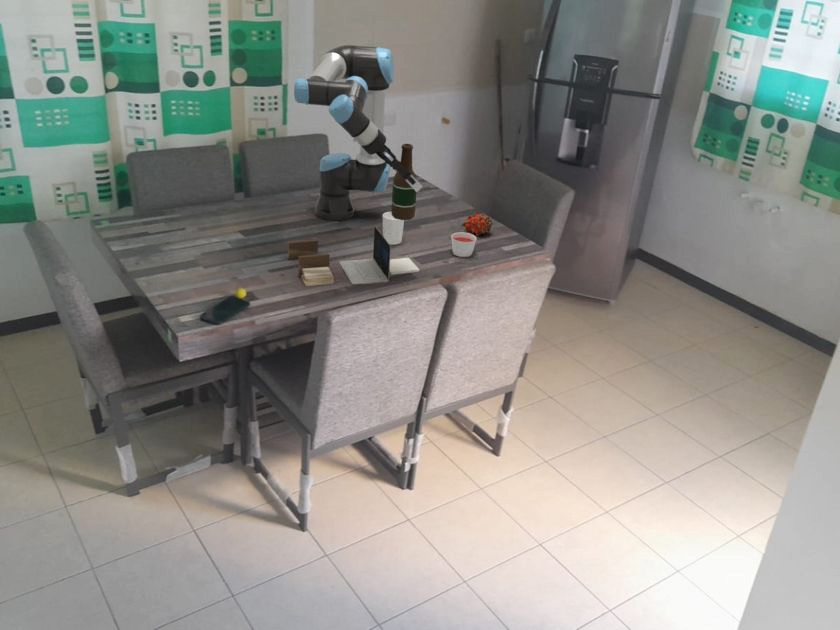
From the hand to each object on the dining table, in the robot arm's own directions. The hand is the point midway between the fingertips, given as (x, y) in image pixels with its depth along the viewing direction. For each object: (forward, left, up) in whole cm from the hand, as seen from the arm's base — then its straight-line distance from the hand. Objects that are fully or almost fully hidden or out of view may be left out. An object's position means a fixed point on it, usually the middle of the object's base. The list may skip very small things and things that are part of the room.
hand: (415, 185), depth 256 cm
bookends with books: (-5, -33, -29) cm, 44 cm away
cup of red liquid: (-6, +23, -29) cm, 38 cm away
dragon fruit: (-22, +36, -29) cm, 51 cm away
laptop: (+1, -17, -30) cm, 34 cm away
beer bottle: (0, -4, -11) cm, 11 cm away
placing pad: (0, -3, -29) cm, 29 cm away
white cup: (-22, +2, -29) cm, 37 cm away
